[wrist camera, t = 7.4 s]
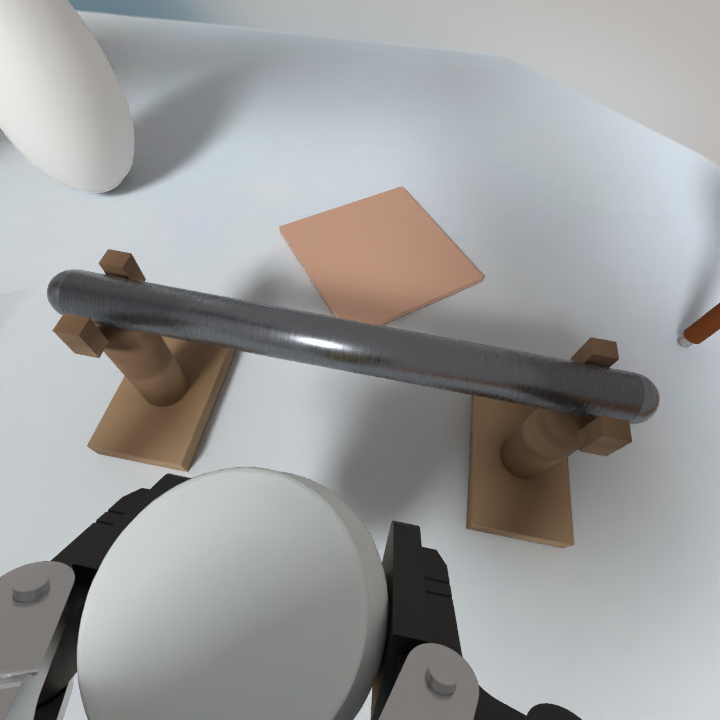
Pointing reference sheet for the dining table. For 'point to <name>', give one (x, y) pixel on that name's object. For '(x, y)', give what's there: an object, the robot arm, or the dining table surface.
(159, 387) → the hurdle stand
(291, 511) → the supplement bottle
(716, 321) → the magnifying glass
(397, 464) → the dining table surface
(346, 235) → the tile
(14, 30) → the white air blower bulb
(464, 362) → the bar
